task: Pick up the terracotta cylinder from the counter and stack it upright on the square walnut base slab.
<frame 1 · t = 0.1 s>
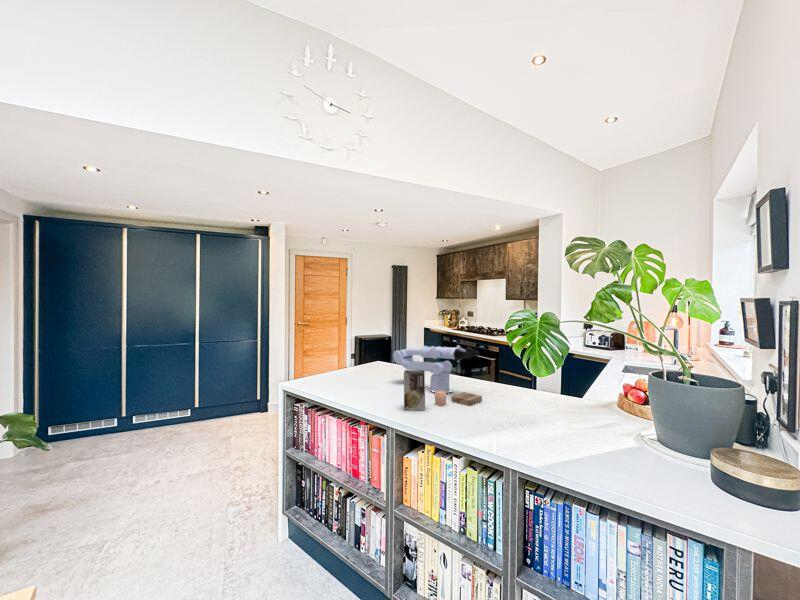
hand: (474, 354, 167), 22 cm above the worktop, tool horizontal, fingers open, 7 cm apart
walnut base: (466, 401, 164), on the worktop
terracotta cylinder: (440, 404, 160), on the worktop
coffee box: (414, 408, 155), on the worktop
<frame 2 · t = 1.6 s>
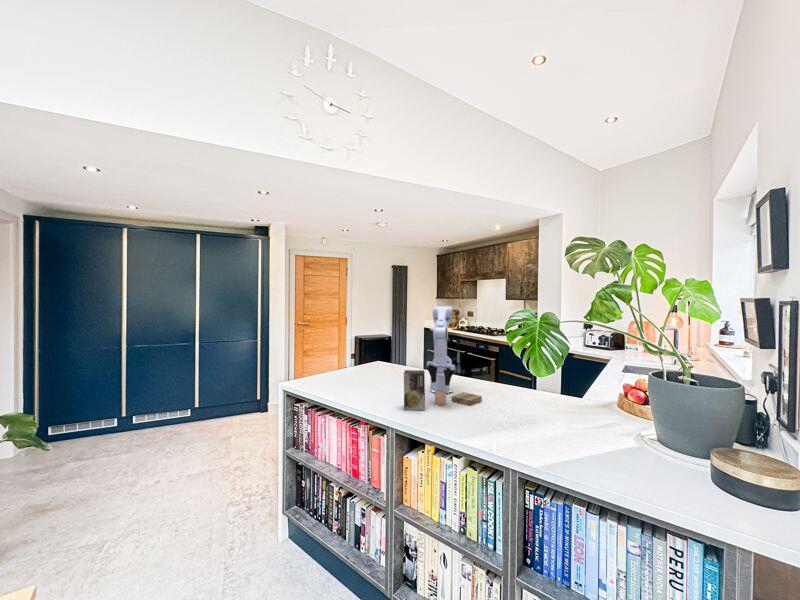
hand: (440, 383, 160), 9 cm above the worktop, tool pointing down, fingers open, 7 cm apart
nothing on the worktop moved.
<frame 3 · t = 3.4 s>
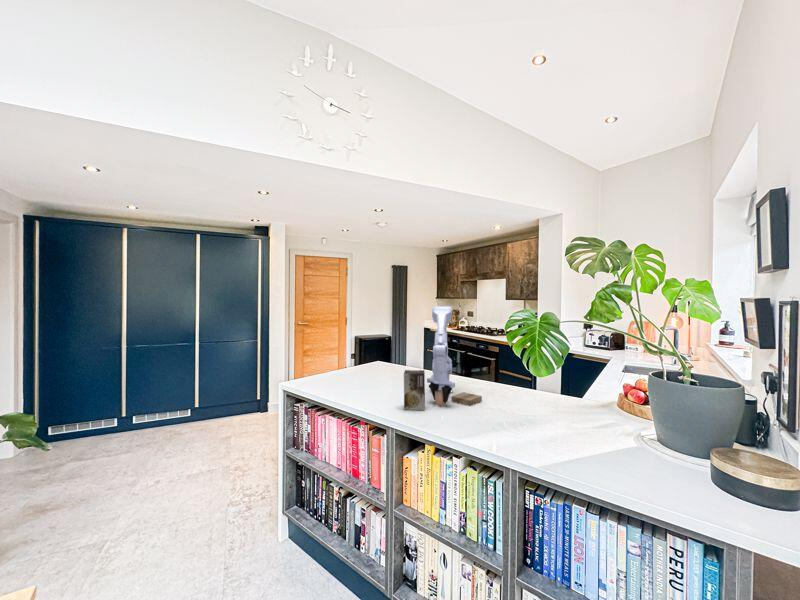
hand: (440, 400, 160), 2 cm above the worktop, tool pointing down, fingers closed on terracotta cylinder, 5 cm apart
terracotta cylinder: (440, 404, 160), on the worktop, touching gripper
everything else where it was.
when the fingers open (5 cm above the worktop, at t = 6.9 s): terracotta cylinder stays where it is, resting on walnut base.
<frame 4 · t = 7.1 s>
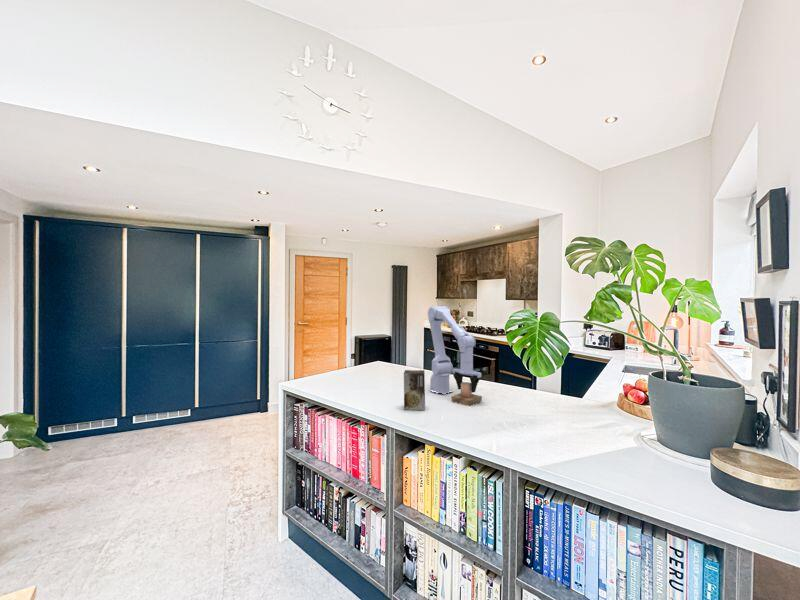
hand: (466, 390, 164), 5 cm above the worktop, tool pointing down, fingers open, 7 cm apart
terracotta cylinder: (466, 396, 164), point 3 cm above the worktop, touching walnut base
everything else where it was.
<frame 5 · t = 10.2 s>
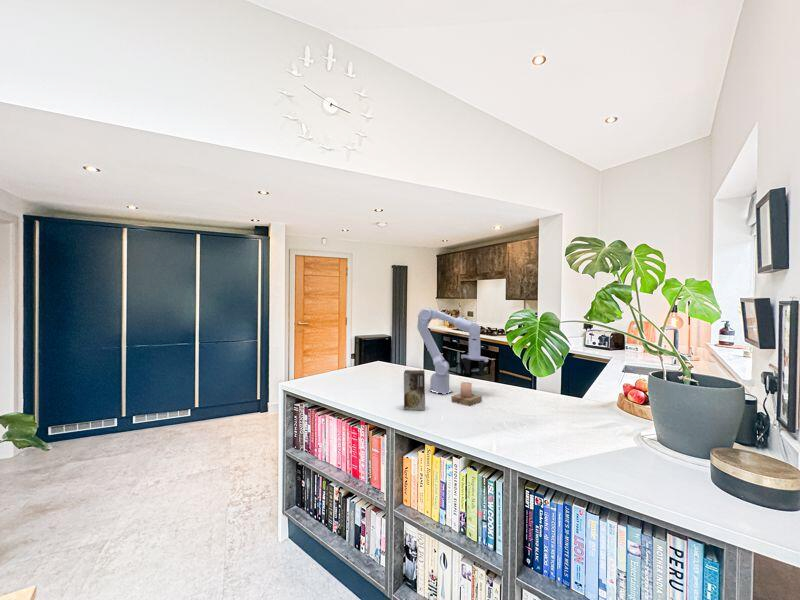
hand: (474, 374, 176), 10 cm above the worktop, tool pointing down, fingers open, 7 cm apart
nothing on the worktop moved.
at the end: terracotta cylinder inside the target area on the walnut base (0.4 cm from its centre), point 2.5 cm above the walnut base's base; terracotta cylinder tilted 0°; the gripper is holding nothing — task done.
